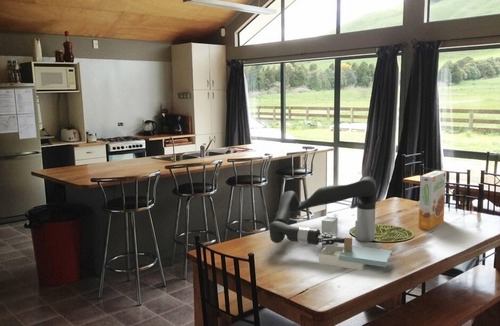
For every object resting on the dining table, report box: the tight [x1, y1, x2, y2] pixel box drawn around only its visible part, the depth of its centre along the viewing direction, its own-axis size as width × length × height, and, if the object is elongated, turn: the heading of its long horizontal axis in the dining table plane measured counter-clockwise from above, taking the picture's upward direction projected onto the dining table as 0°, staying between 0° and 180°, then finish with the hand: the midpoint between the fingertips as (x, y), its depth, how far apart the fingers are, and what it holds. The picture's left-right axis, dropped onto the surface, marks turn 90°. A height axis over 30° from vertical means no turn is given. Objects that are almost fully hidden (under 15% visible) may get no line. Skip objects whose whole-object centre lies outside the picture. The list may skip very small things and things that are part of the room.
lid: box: [339, 235, 393, 268], centre depth 204 cm, size 20×16×9 cm
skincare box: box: [321, 216, 339, 250], centre depth 227 cm, size 8×6×15 cm
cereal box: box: [418, 170, 447, 231], centre depth 262 cm, size 22×6×30 cm, turn 138°
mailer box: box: [318, 245, 367, 271], centre depth 209 cm, size 20×14×4 cm
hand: (345, 240), depth 208 cm, fingers closed
